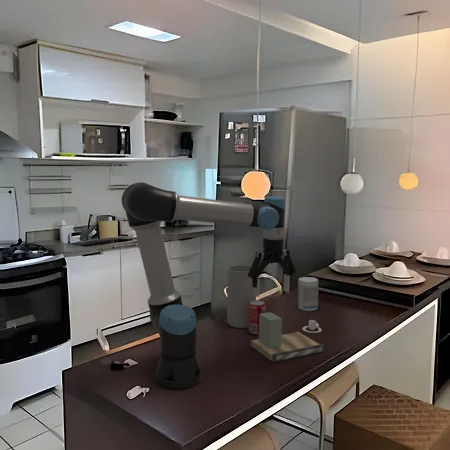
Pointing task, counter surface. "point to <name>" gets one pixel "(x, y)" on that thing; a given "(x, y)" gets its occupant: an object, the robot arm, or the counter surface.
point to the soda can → (255, 315)
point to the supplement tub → (308, 294)
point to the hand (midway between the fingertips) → (271, 293)
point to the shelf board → (289, 347)
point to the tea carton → (270, 330)
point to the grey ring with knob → (312, 326)
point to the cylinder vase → (239, 295)
